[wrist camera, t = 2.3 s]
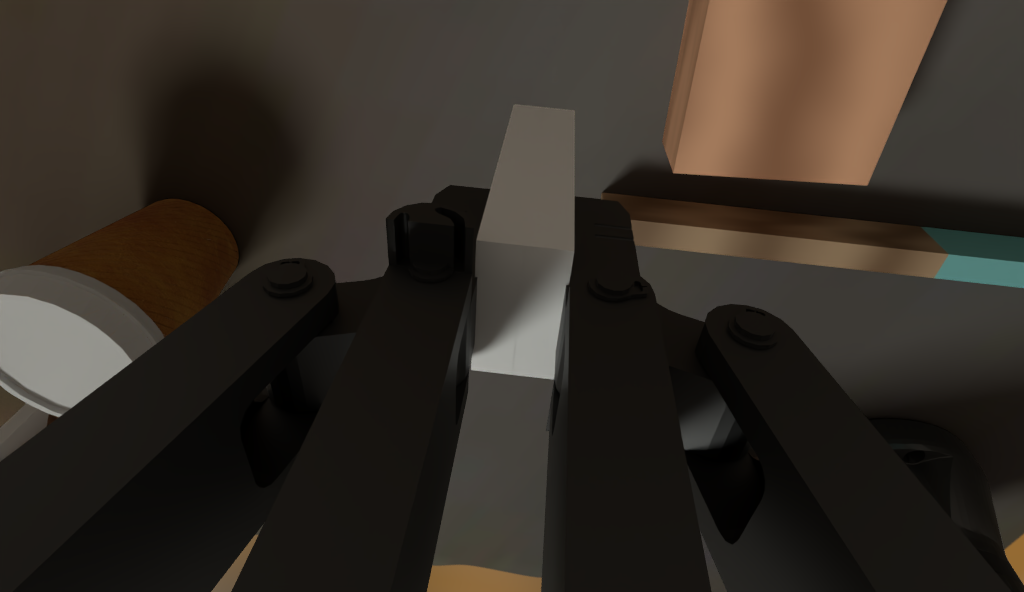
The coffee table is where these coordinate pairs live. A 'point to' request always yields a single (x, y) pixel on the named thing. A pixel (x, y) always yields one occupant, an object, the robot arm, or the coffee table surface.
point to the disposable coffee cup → (108, 300)
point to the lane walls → (782, 236)
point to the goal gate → (980, 257)
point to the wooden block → (793, 86)
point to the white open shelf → (22, 428)
